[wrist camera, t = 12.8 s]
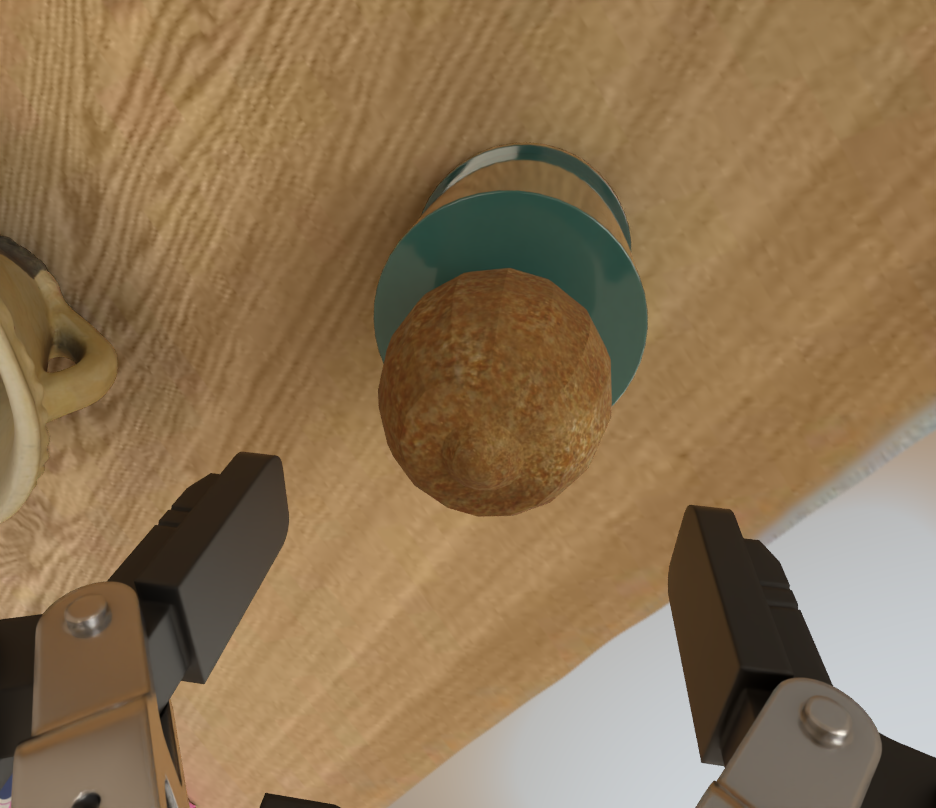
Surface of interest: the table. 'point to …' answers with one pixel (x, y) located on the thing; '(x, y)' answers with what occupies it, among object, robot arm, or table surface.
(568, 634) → the table surface
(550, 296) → the fruit
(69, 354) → the bowl
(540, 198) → the cup
